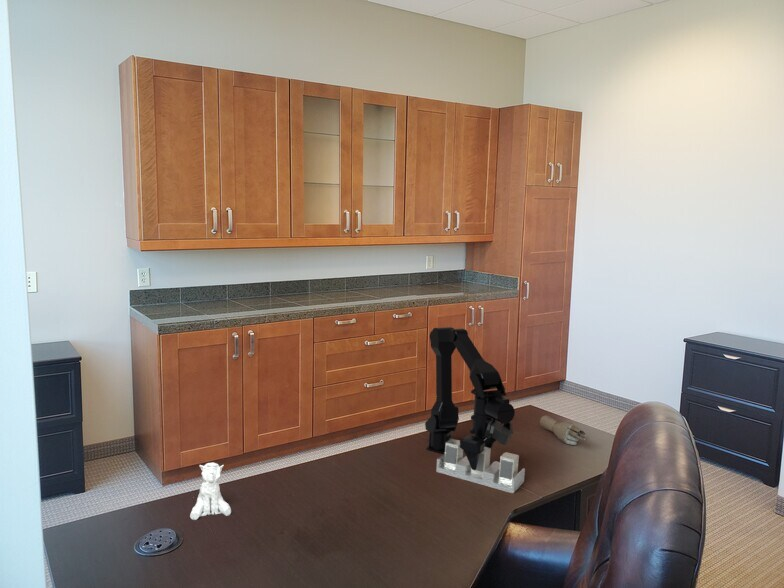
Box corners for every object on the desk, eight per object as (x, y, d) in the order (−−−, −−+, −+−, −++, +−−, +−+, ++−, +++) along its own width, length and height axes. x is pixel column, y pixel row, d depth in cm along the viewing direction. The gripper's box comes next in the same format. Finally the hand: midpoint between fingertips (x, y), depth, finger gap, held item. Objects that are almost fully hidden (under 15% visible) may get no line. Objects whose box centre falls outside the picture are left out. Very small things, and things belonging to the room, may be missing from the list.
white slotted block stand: (436, 471, 179) (438, 444, 178) (449, 461, 187) (451, 435, 186) (513, 493, 167) (515, 463, 166) (523, 482, 175) (526, 453, 174)
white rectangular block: (470, 473, 176) (471, 449, 175) (476, 467, 180) (477, 445, 179) (483, 476, 174) (485, 453, 173) (489, 471, 178) (490, 448, 177)
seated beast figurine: (190, 521, 144) (190, 473, 143) (188, 504, 152) (188, 459, 151) (231, 516, 148) (231, 468, 146) (227, 500, 156) (227, 455, 154)
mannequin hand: (555, 434, 223) (589, 454, 198) (537, 429, 222) (569, 449, 197) (560, 415, 223) (595, 433, 198) (542, 410, 222) (575, 428, 197)
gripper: (498, 427, 162) (494, 483, 164) (521, 410, 178) (517, 461, 180) (460, 418, 168) (456, 472, 170) (486, 402, 184) (482, 452, 186)
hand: (480, 464), depth 176 cm, fingers open, 9 cm apart
